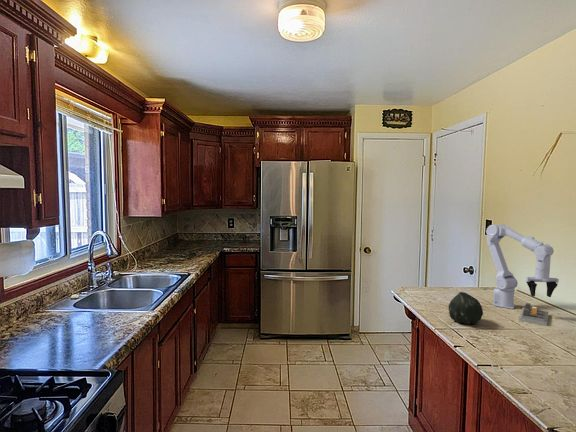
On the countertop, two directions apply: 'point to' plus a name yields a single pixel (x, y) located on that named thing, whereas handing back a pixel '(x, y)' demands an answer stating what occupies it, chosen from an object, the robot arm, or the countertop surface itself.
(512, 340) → the countertop surface
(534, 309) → the block
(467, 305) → the squash
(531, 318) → the panel
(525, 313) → the breaker
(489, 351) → the countertop surface
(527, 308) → the block
